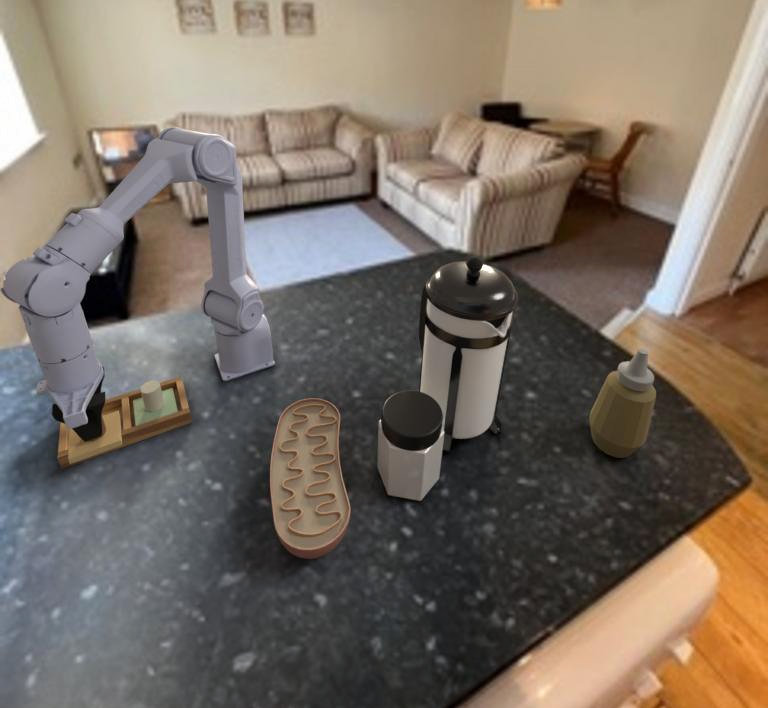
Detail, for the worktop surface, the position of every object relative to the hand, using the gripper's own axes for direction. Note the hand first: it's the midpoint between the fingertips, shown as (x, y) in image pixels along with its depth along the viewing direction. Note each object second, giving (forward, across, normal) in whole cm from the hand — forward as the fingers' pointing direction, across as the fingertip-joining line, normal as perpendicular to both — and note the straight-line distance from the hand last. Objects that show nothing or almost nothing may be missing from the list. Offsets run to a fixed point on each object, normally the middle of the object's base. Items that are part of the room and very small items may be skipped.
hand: (93, 428), depth 61 cm
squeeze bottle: (+8, +34, +68) cm, 76 cm away
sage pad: (+7, -7, +7) cm, 12 cm away
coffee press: (+8, +16, +49) cm, 52 cm away
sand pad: (+2, 0, 0) cm, 2 cm away
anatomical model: (+8, +17, +24) cm, 31 cm away
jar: (+8, +22, +37) cm, 44 cm away
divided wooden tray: (+7, -7, +3) cm, 11 cm away
